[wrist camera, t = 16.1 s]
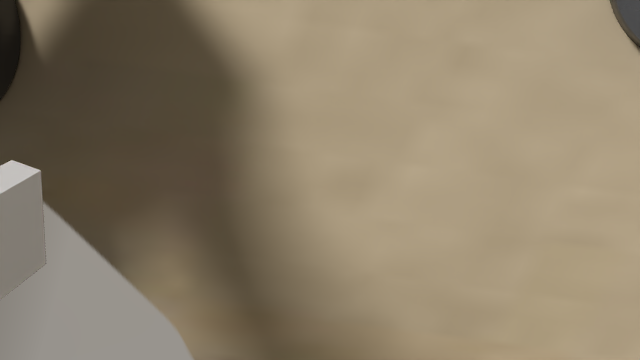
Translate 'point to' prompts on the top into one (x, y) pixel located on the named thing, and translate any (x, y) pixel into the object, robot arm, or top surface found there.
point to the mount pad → (628, 17)
